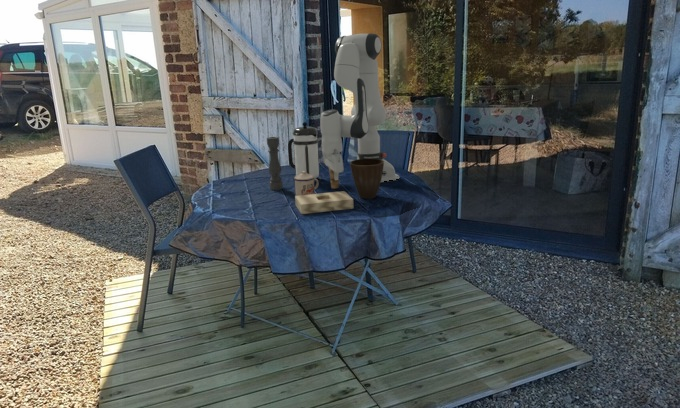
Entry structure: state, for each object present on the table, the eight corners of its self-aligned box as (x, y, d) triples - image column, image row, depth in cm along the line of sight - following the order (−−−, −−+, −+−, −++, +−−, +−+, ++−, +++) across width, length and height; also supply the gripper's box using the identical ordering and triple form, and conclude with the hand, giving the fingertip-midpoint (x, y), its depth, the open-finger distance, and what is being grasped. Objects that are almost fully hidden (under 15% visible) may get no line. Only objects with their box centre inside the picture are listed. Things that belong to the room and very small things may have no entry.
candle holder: (280, 190, 236) (276, 138, 229) (268, 189, 237) (264, 138, 230) (284, 186, 242) (280, 136, 235) (272, 186, 243) (268, 136, 236)
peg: (338, 185, 221) (336, 164, 218) (340, 187, 217) (339, 166, 214) (329, 187, 220) (328, 165, 217) (332, 189, 216) (330, 167, 213)
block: (344, 199, 216) (344, 191, 215) (353, 208, 203) (353, 199, 202) (295, 204, 211) (294, 195, 210) (301, 214, 198) (300, 204, 196)
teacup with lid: (301, 200, 218) (300, 174, 214) (291, 196, 225) (290, 171, 222) (324, 195, 224) (323, 170, 221) (313, 191, 232) (312, 167, 228)
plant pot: (362, 203, 210) (361, 166, 205) (345, 195, 222) (343, 161, 218) (390, 197, 216) (390, 162, 212) (372, 190, 229) (372, 157, 224)
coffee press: (322, 175, 263) (319, 119, 255) (321, 182, 248) (319, 123, 240) (289, 176, 263) (286, 120, 255) (287, 183, 248) (283, 124, 239)
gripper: (346, 151, 204) (348, 182, 209) (333, 143, 223) (335, 172, 227) (331, 152, 203) (334, 184, 207) (319, 145, 222) (322, 174, 226)
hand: (334, 178), depth 217 cm, fingers closed on peg, 4 cm apart
